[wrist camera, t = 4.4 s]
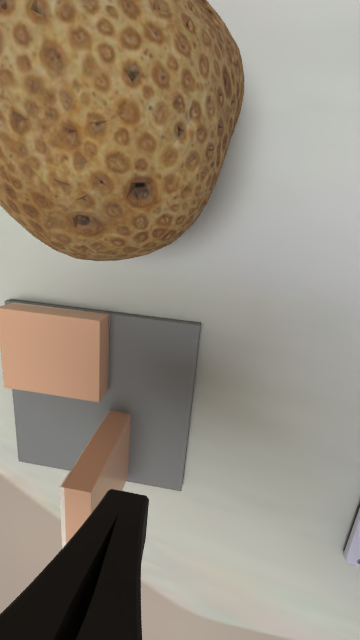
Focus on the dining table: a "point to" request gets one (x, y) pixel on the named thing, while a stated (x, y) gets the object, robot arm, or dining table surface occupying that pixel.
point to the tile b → (95, 472)
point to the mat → (122, 401)
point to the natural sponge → (113, 120)
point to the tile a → (55, 350)
